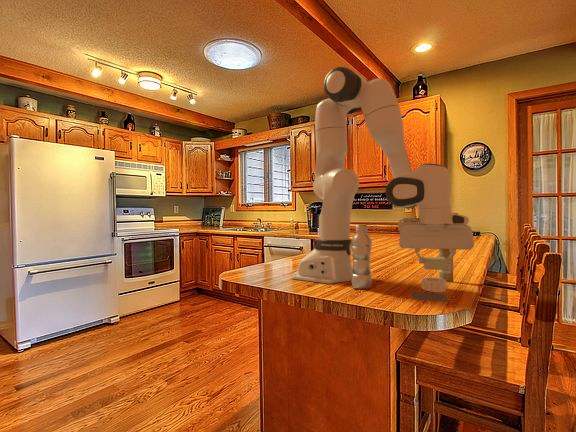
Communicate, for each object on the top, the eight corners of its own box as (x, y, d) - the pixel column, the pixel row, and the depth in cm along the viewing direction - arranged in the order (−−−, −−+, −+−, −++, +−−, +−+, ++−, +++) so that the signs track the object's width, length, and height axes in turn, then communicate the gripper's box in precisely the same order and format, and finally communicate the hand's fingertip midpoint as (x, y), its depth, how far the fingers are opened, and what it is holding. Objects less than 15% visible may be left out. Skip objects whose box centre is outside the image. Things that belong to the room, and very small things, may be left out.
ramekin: (422, 292, 93) (422, 281, 93) (421, 287, 99) (421, 276, 99) (447, 294, 90) (447, 282, 90) (444, 289, 97) (444, 277, 96)
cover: (424, 269, 92) (424, 261, 92) (423, 264, 99) (423, 256, 99) (447, 270, 90) (447, 261, 90) (444, 265, 97) (444, 257, 97)
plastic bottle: (351, 291, 95) (351, 225, 95) (350, 285, 102) (350, 224, 101) (373, 291, 94) (373, 225, 94) (370, 286, 101) (370, 224, 100)
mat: (412, 300, 85) (412, 298, 85) (411, 293, 92) (411, 291, 92) (449, 304, 82) (449, 301, 82) (445, 296, 89) (445, 294, 89)
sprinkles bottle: (456, 282, 105) (456, 242, 105) (448, 284, 103) (449, 243, 102) (443, 279, 109) (443, 241, 109) (435, 281, 107) (435, 242, 106)
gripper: (397, 218, 94) (398, 264, 95) (475, 217, 87) (475, 267, 88) (397, 217, 100) (398, 260, 101) (470, 216, 93) (470, 263, 94)
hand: (434, 263), depth 94 cm, fingers closed on cover, 6 cm apart
